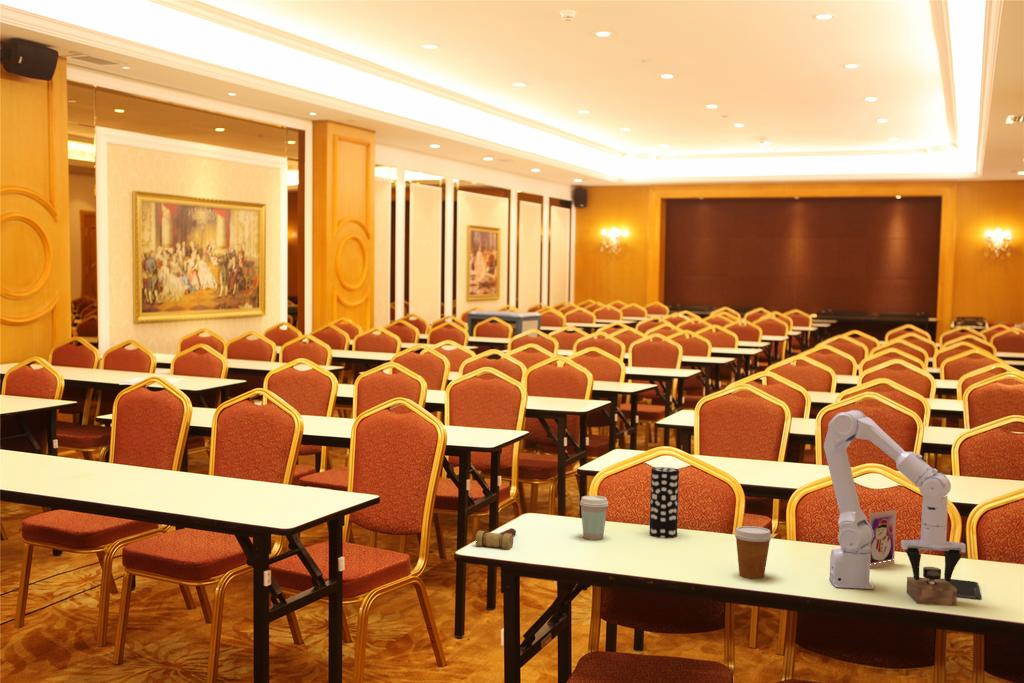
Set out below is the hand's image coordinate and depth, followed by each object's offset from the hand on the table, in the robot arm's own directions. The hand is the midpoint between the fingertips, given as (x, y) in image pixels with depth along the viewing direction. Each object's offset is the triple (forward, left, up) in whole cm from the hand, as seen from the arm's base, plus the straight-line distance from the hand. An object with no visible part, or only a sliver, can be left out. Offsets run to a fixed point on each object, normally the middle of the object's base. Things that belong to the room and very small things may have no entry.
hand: (931, 579), depth 245 cm
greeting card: (-6, +32, -5) cm, 33 cm away
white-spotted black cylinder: (-62, +56, -5) cm, 83 cm away
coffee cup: (-83, +48, -5) cm, 96 cm away
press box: (0, 0, -5) cm, 5 cm away
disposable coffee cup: (-41, +14, -5) cm, 43 cm away
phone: (+11, +10, -5) cm, 15 cm away
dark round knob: (0, 0, -5) cm, 5 cm away
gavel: (-109, +38, -5) cm, 116 cm away
